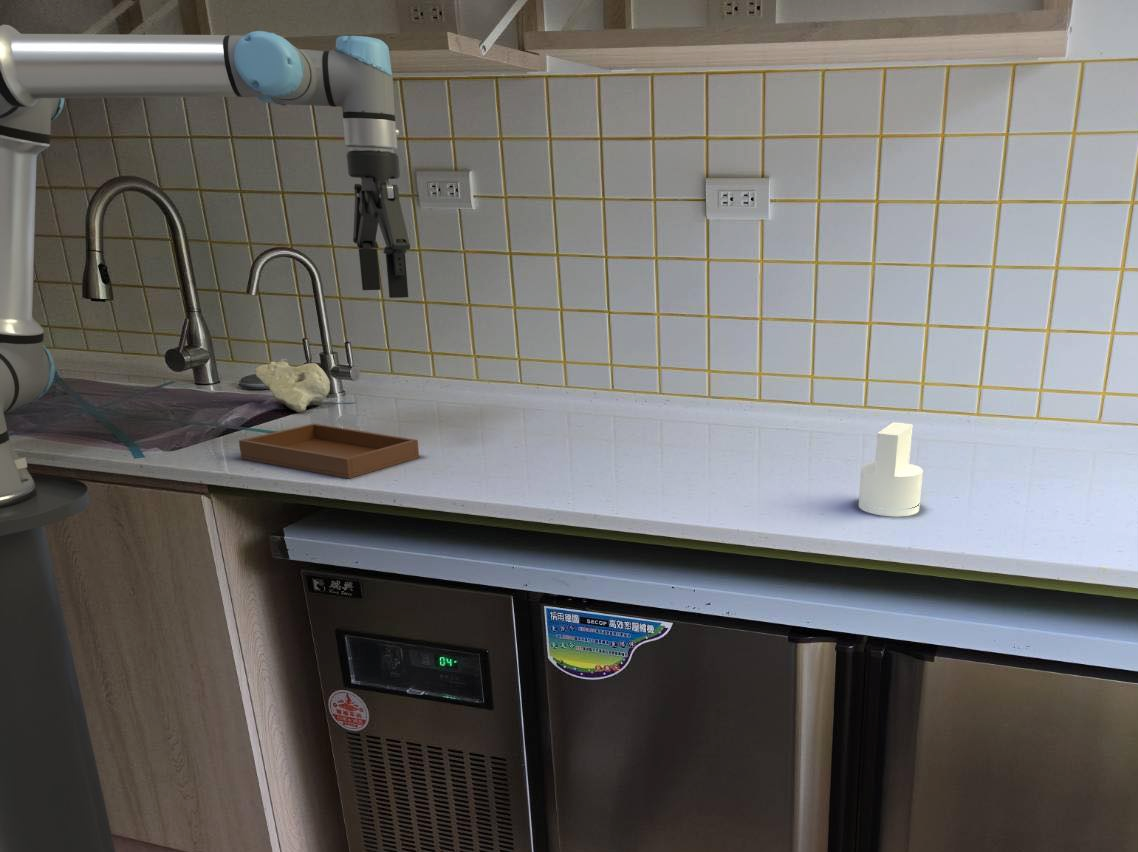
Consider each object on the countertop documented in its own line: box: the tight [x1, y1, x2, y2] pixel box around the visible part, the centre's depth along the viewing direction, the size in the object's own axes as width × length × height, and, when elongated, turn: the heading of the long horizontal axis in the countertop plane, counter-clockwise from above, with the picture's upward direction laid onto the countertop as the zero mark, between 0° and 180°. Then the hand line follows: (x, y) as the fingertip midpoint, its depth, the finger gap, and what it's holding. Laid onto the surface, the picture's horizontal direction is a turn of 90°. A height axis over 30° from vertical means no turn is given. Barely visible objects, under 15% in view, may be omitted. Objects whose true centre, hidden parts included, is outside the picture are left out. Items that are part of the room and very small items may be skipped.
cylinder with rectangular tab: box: [858, 421, 924, 518], centre depth 144 cm, size 9×9×12 cm
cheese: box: [254, 358, 331, 413], centre depth 200 cm, size 15×7×15 cm
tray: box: [238, 423, 420, 479], centre depth 162 cm, size 16×24×3 cm, turn 65°
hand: (384, 293), depth 157 cm, fingers open, 13 cm apart
